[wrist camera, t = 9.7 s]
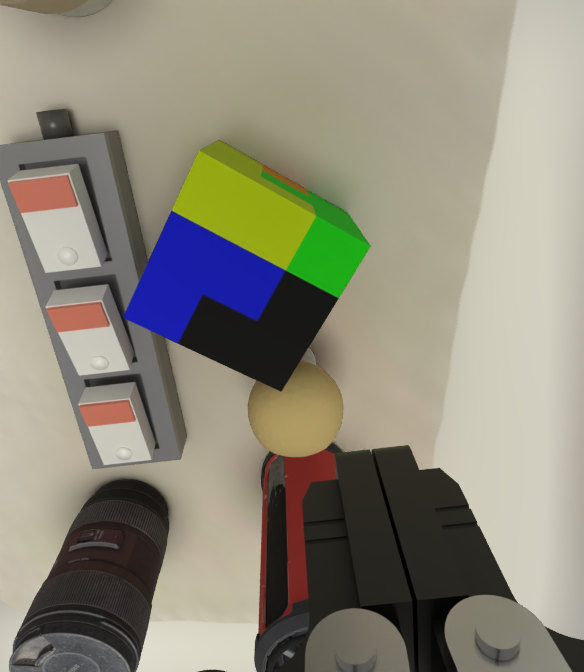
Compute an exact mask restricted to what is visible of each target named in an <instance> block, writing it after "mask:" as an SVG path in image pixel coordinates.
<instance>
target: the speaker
mask: <svg viewBox="0 0 584 672" xmlns="http://www.w3.org/2000/svg"><path fill="white" fill-rule="evenodd" d="M334 453H342V452H341V451H340V450H339V449H338V448H337V447H335V446H334V445H332V444H330V445H329V446H328V447H327V448H326V449H324V450H322V451H320V452H318V453H316V454H313V455H309V456H305V457H287V456H281V455H277V454H274V453H272V452H271V454H269V456H268V457H267V459H266V460H265V462H264V464H263V467H262V473H261V487H262V491H263V506H262V538H261V570H260V601H259V633H258V634H257V636H256V640H255V657H254V661H255V667H256V670H257V672H271V671H273V670H275V669H277V668H278V667H280V666H282V665H283V664H284V663H286V662H287V661H288V660H289V659H290V658H291V657H292V656H293V655H294V654H295V653H296V652H297V651H298V649H299V648H300V647H301V645H302V643H303V641H304V639H305V637H306V634H307V632H308V627H309V600H308V585H307V570H306V555H305V541H304V525H303V511H302V500H303V498H304V496H305V494H306V492H307V490H308V488H309V486H310V483H311V482H317V481H326V480H335V479H336V472H335V462H334Z"/></svg>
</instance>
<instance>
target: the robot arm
mask: <svg viewBox="0 0 584 672" xmlns="http://www.w3.org/2000/svg"><path fill="white" fill-rule="evenodd" d="M334 462H335V472H336V479H335V480H326V481H317V482H311V483H310V486H309V488H308V490H307V492H306V494H305V496H304V498H303V500H302V511H303V525H304V541H305V555H306V570H307V585H308V600H309V627H308V632H307V634H306V637H305V639H304V641H303V643H302V645H301V647H300V648H299V649H298V651H297V652H296V653H295V654H294V655H293V656H292V657H291V658H290V659H289V660H288V661H287V662H286V663H284V664H283V665H282V666H280V667H278V668H277V669H275V670H273V671H271V672H584V640H579V639H575V638H571V637H568V636H565V635H562V634H559V633H557V632H555V631H553V630H551V629H549V628H547V627H545V626H544V625H543V624H542V622H541V621H540V620H539V619H538V618H537V617H536V616H535V615H534V614H533V613H532V612H530V611H529V610H528V609H526V608H525V607H523V606H522V605H520V604H518V602H517V601H516V600H515V598H514V596H513V594H512V593H511V590H510V588H509V586H508V584H507V582H506V580H505V578H504V576H503V574H502V572H501V570H500V568H499V566H498V564H497V562H496V560H495V558H494V556H493V554H492V552H491V550H490V548H489V545H488V544H487V541H486V539H485V537H484V535H483V533H482V531H481V529H480V527H479V526H478V525H477V521H476V519H475V517H474V515H473V513H472V511H471V509H469V504H468V502H467V500H466V498H465V496H464V494H463V492H462V490H461V488H460V486H459V484H458V483H457V482H455V481H454V480H453V479H452V478H451V477H449V476H448V475H447V474H446V473H444V471H442V470H441V469H440V468H435V469H426V470H419V468H418V466H417V463H416V461H415V458H414V456H413V453H412V451H411V449H410V447H409V446H408V445H405V446H396V447H387V448H378V449H372V454H371V451H370V450H361V451H352V452H343V453H334ZM199 672H225V671H221V670H204V671H199Z"/></svg>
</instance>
